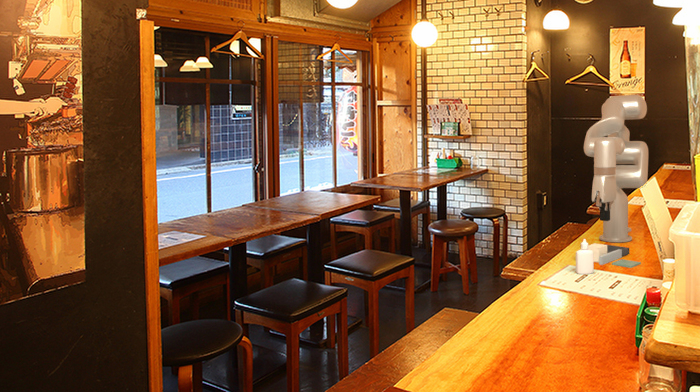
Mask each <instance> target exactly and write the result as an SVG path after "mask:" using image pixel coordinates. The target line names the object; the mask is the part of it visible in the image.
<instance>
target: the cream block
mask: <svg viewBox="0 0 700 392" xmlns="http://www.w3.org/2000/svg"><path fill="white" fill-rule="evenodd" d="M607 245H608V244H605V245H604V244H602V243H595V242H594V243H592V244H588V249H589V250H591V251H593V258H594V263H598V264H599V256H602V255H604V254H607Z"/></svg>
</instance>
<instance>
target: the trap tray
mask: <svg viewBox="0 0 700 392" xmlns="http://www.w3.org/2000/svg"><path fill="white" fill-rule="evenodd" d="M603 245H607V253H610V252H612V251H615V250H618V249H621V250H622V258H623V257H626V256H629V255H630V247H625V246H618V245H611V244H605V243H604V244H603ZM628 254H629V255H628Z"/></svg>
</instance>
